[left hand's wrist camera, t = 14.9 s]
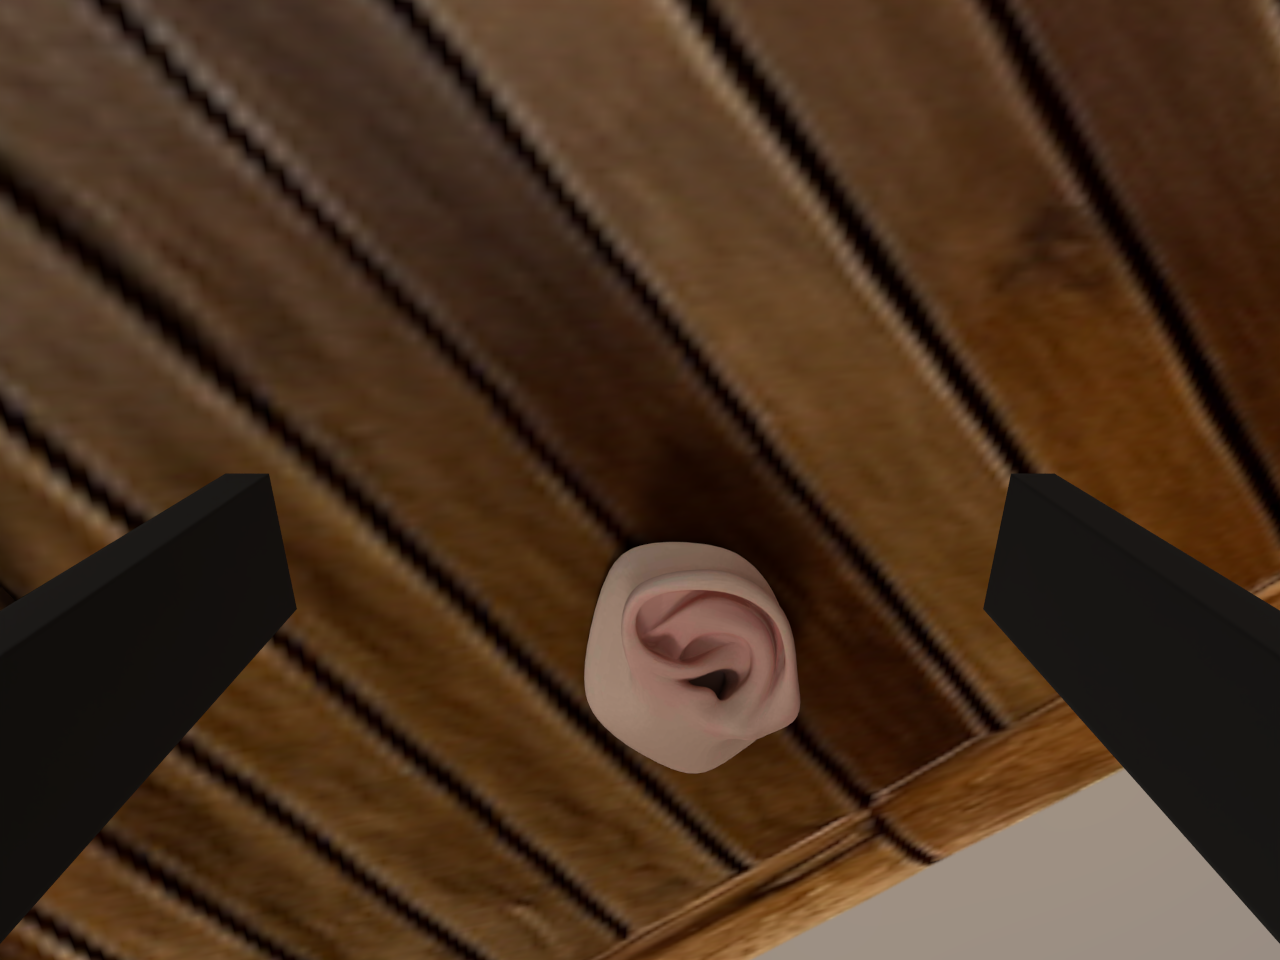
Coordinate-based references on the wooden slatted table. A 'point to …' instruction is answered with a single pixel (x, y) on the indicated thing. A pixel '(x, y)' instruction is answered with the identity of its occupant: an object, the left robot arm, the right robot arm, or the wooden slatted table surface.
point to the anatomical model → (690, 655)
